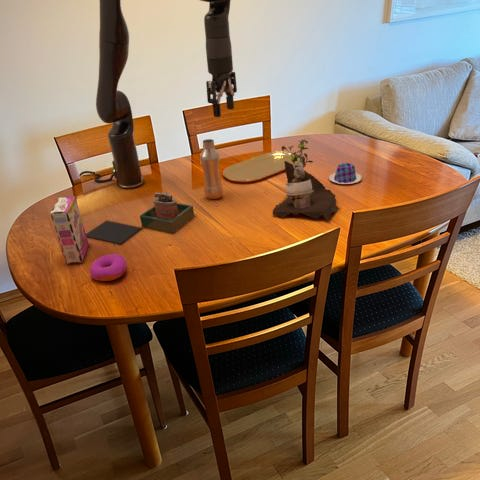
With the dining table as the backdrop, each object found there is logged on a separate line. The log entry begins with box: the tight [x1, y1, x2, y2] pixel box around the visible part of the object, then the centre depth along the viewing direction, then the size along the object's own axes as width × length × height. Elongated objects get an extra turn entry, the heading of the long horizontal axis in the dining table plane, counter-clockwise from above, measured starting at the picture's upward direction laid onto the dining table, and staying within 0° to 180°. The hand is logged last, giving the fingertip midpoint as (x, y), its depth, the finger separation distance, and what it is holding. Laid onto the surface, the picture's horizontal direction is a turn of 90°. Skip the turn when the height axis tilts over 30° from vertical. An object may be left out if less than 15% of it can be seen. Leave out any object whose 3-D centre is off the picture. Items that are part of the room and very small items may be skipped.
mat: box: [86, 220, 143, 246], centre depth 150 cm, size 15×11×1 cm
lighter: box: [152, 192, 178, 221], centre depth 150 cm, size 8×3×10 cm, turn 71°
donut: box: [89, 253, 128, 282], centre depth 129 cm, size 10×10×5 cm
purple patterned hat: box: [328, 162, 363, 185], centre depth 169 cm, size 12×12×5 cm
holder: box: [139, 202, 195, 234], centre depth 152 cm, size 13×13×4 cm
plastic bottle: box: [199, 138, 224, 200], centre depth 160 cm, size 6×7×20 cm
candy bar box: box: [49, 195, 90, 265], centre depth 135 cm, size 11×5×16 cm, turn 5°
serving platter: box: [222, 151, 300, 184], centre depth 184 cm, size 19×35×2 cm, turn 128°
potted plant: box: [272, 139, 339, 222], centre depth 151 cm, size 20×19×25 cm
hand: (224, 112), depth 145 cm, fingers open, 8 cm apart
